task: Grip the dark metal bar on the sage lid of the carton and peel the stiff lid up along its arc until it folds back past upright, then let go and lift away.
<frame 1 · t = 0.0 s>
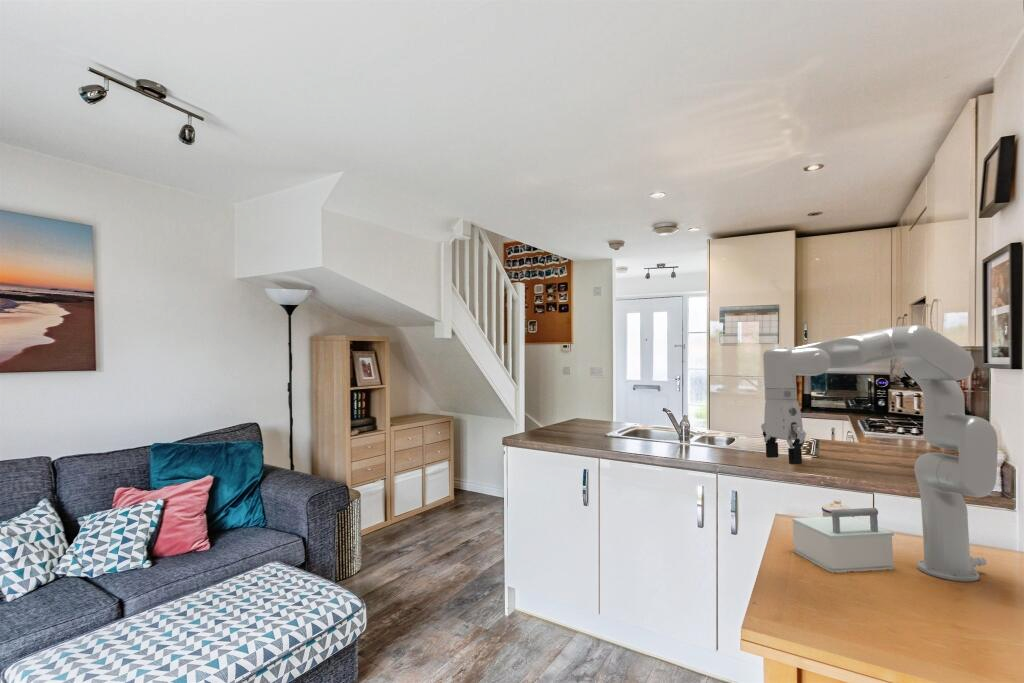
hand: (783, 460, 134), 31 cm above the table, tool pointing down, fingers open, 9 cm apart
teacup with lid: (839, 535, 168), on the table
carton lid: (839, 515, 147), point 13 cm above the table, hinge at 0.0°
carton: (841, 560, 147), on the table
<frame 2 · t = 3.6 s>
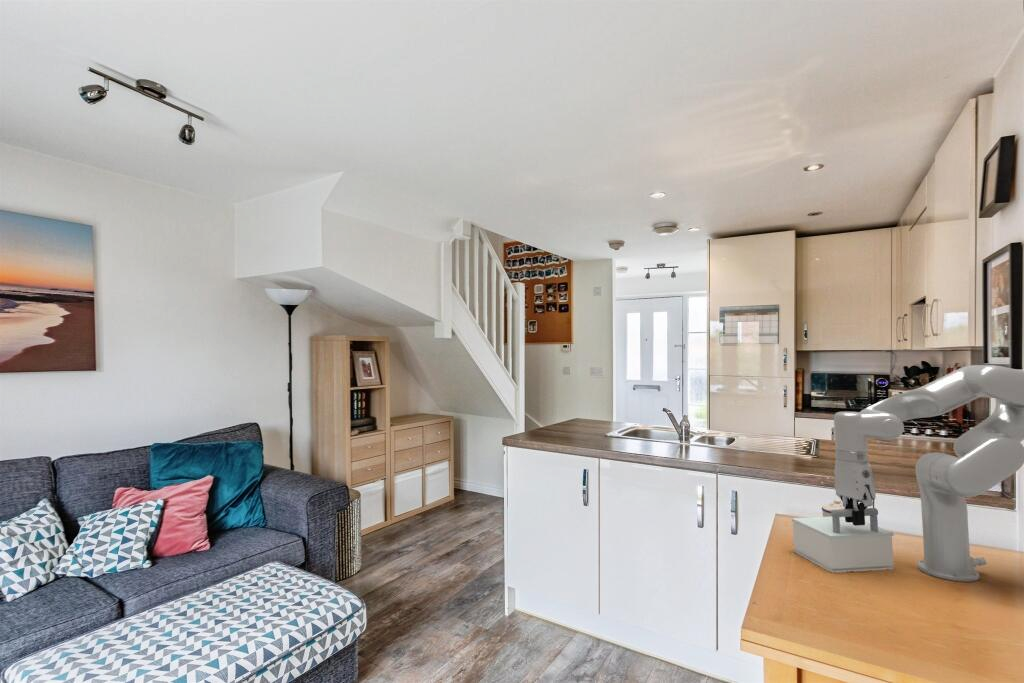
hand: (855, 523, 142), 12 cm above the table, tool pointing down, fingers closed on carton lid, 2 cm apart
carton lid: (839, 515, 147), point 13 cm above the table, hinge at 0.0°, touching gripper
everything else where it was.
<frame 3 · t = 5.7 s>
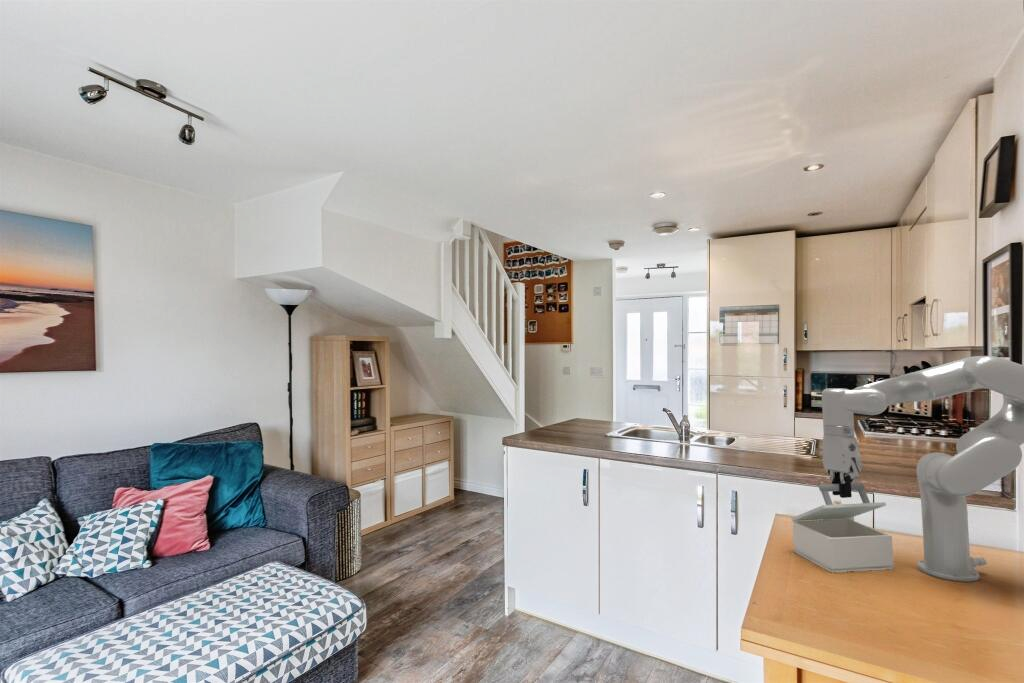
hand: (841, 495, 146), 19 cm above the table, tool pointing down, fingers closed on carton lid, 2 cm apart
carton lid: (832, 501, 150), point 16 cm above the table, hinge at 28.1°, touching gripper
everything else where it was.
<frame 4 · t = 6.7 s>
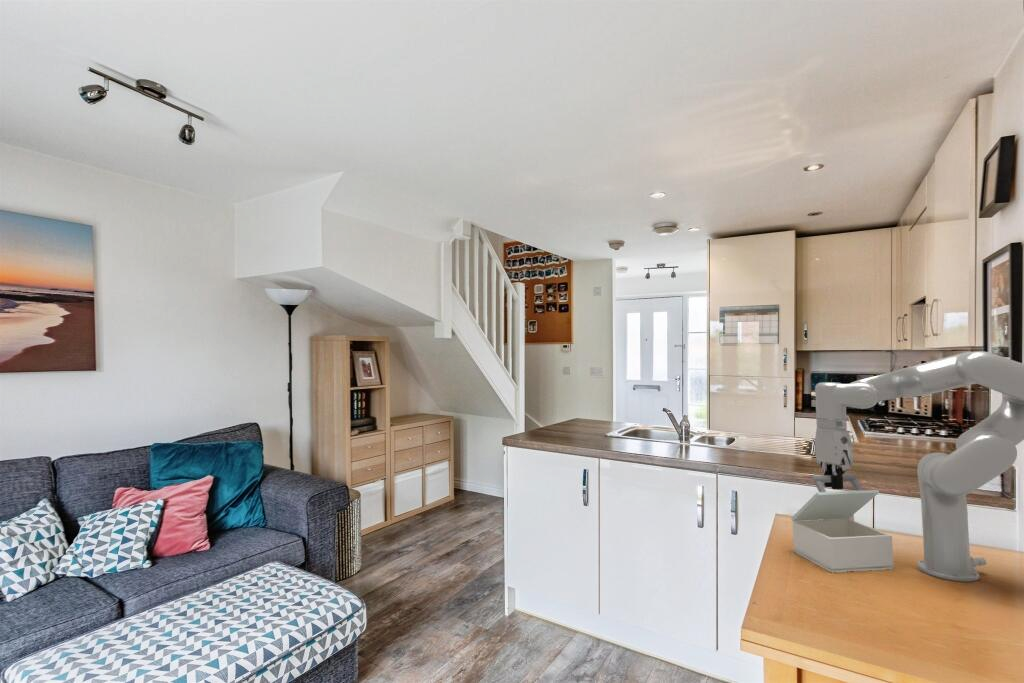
hand: (833, 487, 149), 20 cm above the table, tool pointing down, fingers closed on carton lid, 2 cm apart
carton lid: (828, 496, 152), point 17 cm above the table, hinge at 41.2°, touching gripper
everything else where it was.
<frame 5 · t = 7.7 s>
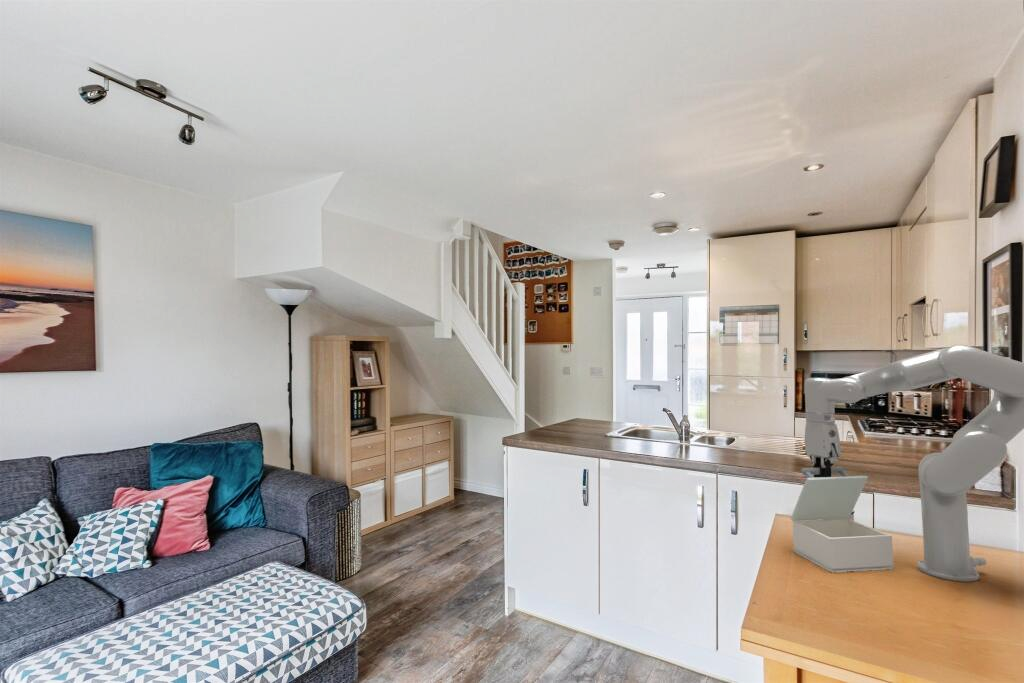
hand: (822, 479, 154), 22 cm above the table, tool pointing down, fingers closed on carton lid, 2 cm apart
carton lid: (821, 491, 155), point 18 cm above the table, hinge at 59.2°, touching gripper
everything else where it was.
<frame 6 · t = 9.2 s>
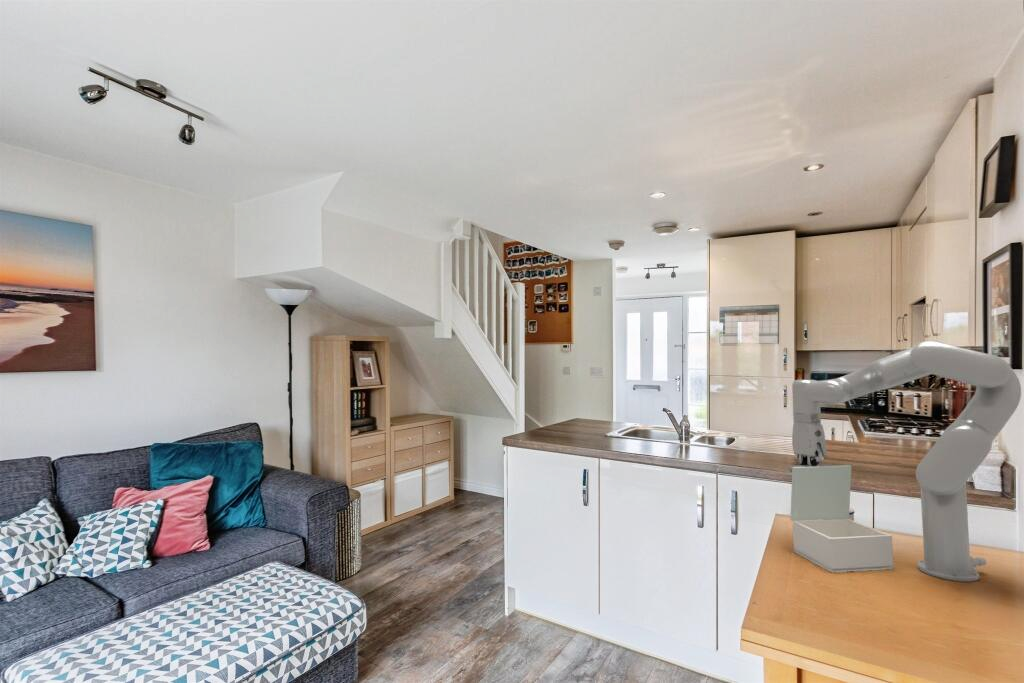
hand: (809, 477, 160), 21 cm above the table, tool pointing down, fingers closed on carton lid, 2 cm apart
carton lid: (813, 489, 158), point 18 cm above the table, hinge at 82.6°, touching gripper
everything else where it was.
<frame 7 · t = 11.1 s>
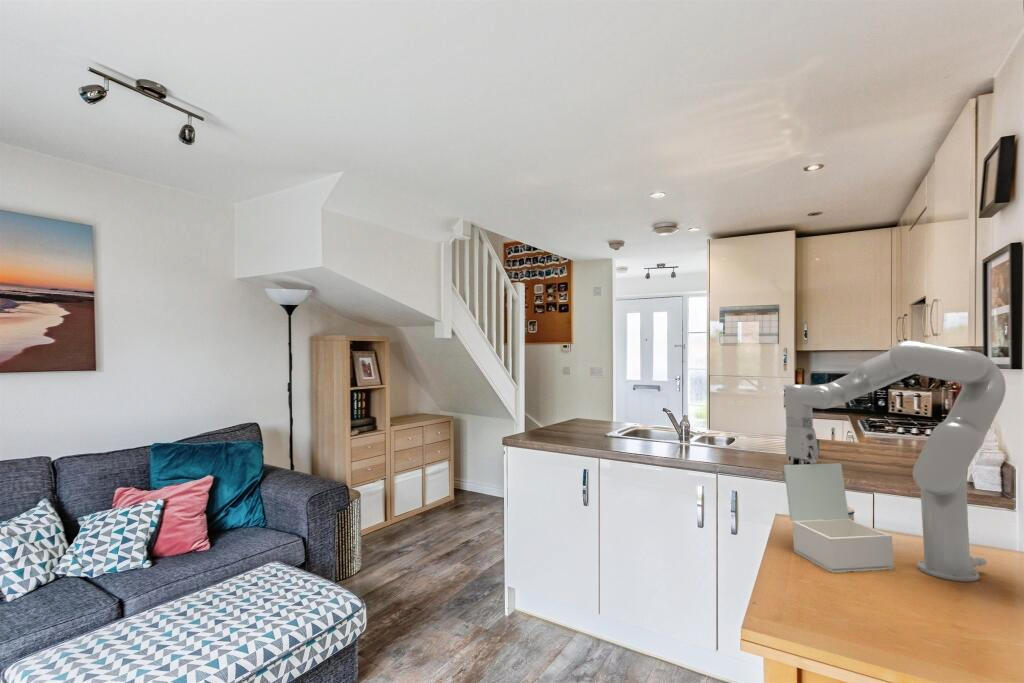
hand: (801, 479, 164), 19 cm above the table, tool pointing down, fingers open, 3 cm apart
carton lid: (809, 490, 160), point 17 cm above the table, hinge at 97.6°, touching gripper
everything else where it was.
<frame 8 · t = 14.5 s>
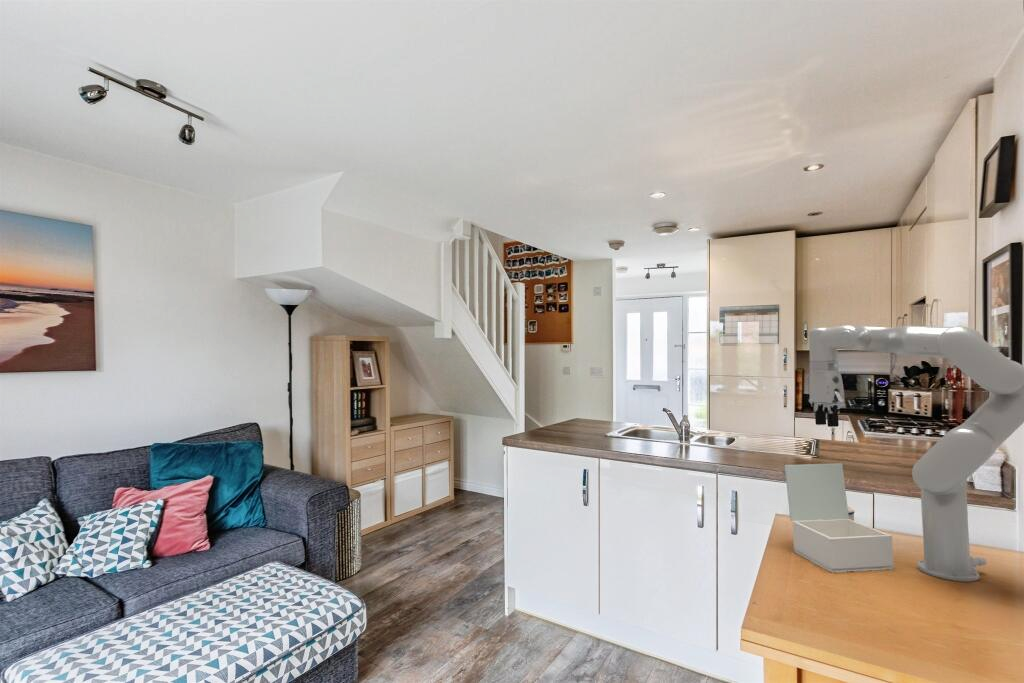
hand: (826, 424, 159), 37 cm above the table, tool pointing down, fingers open, 4 cm apart
carton lid: (809, 490, 160), point 17 cm above the table, hinge at 96.0°
everything else where it was.
at the end: carton lid at +96° (first picture: +0°); the gripper is holding nothing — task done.
